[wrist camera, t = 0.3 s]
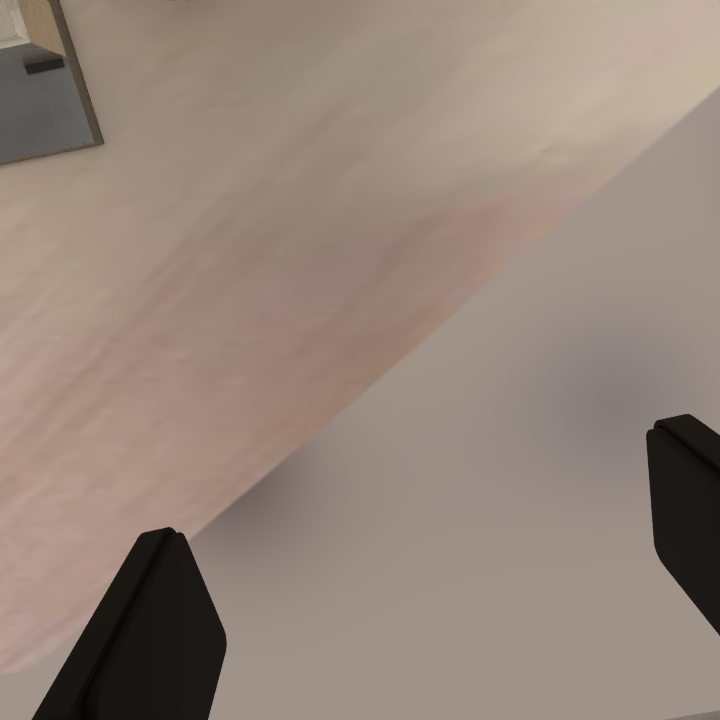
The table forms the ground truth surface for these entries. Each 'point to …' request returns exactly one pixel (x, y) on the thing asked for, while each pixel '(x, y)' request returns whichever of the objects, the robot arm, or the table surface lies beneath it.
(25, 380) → the table surface
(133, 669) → the robot arm
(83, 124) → the panel
